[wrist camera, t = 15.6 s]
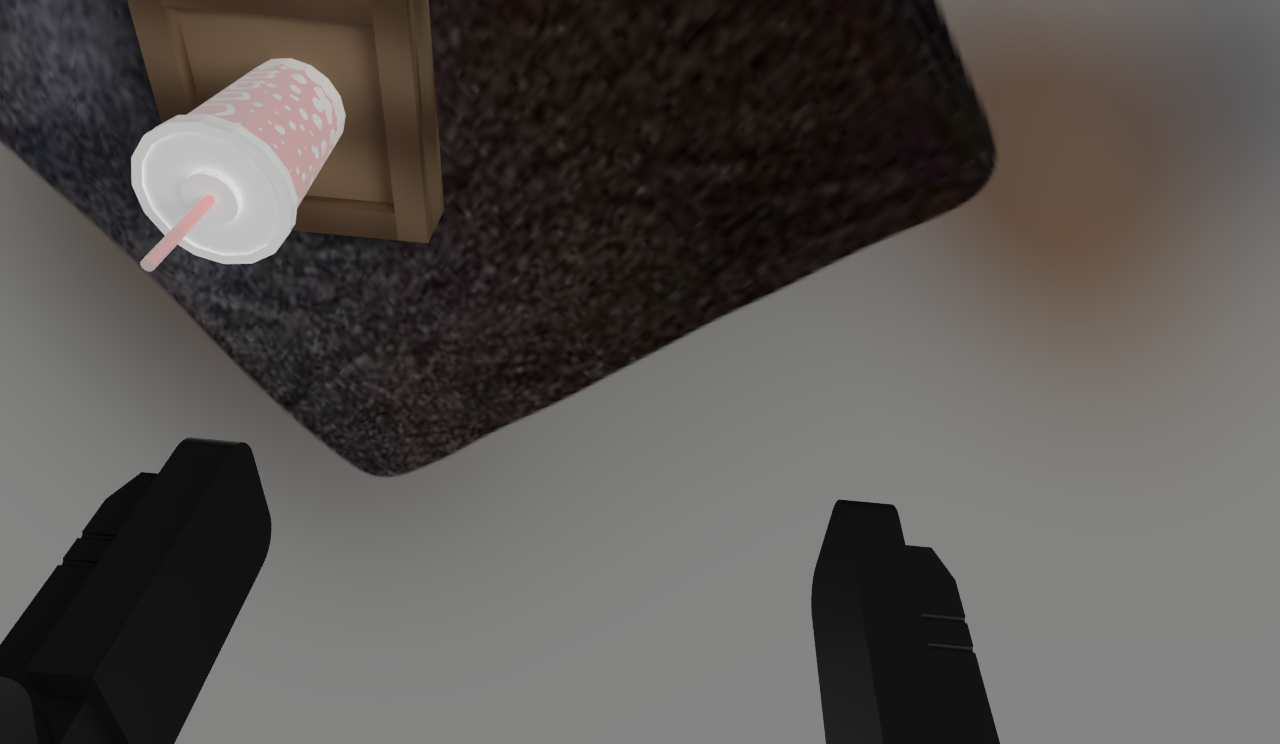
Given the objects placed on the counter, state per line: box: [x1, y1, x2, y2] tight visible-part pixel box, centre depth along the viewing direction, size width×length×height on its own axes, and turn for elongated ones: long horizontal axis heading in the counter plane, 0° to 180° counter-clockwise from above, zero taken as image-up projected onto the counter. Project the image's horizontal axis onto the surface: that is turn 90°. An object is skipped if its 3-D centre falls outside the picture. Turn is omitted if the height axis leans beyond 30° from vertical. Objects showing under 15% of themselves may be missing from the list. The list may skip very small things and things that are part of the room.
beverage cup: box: [131, 58, 346, 271], centre depth 36 cm, size 6×6×14 cm
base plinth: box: [127, 0, 444, 243], centre depth 42 cm, size 12×12×4 cm
